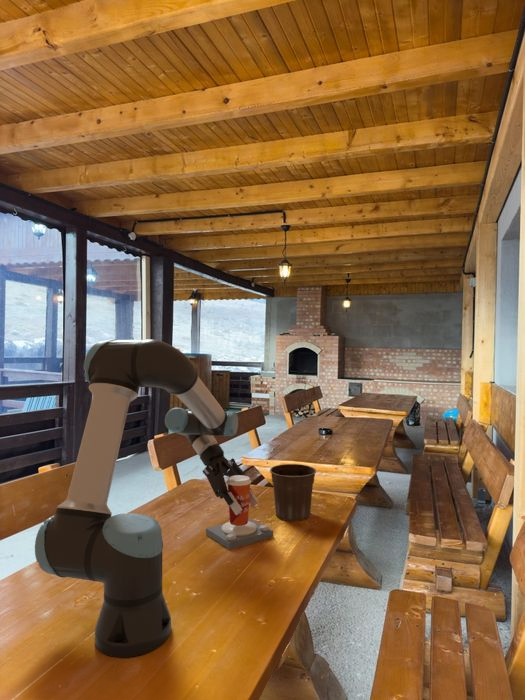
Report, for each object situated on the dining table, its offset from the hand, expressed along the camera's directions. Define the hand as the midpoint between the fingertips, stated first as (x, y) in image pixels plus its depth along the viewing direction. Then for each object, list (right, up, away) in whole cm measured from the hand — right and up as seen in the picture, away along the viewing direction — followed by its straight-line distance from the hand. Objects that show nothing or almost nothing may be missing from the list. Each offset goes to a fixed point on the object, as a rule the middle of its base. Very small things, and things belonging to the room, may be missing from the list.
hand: (247, 508), depth 145 cm
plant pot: (+15, -9, +20) cm, 27 cm away
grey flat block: (-3, -9, +2) cm, 10 cm away
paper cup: (-3, -5, +2) cm, 6 cm away
